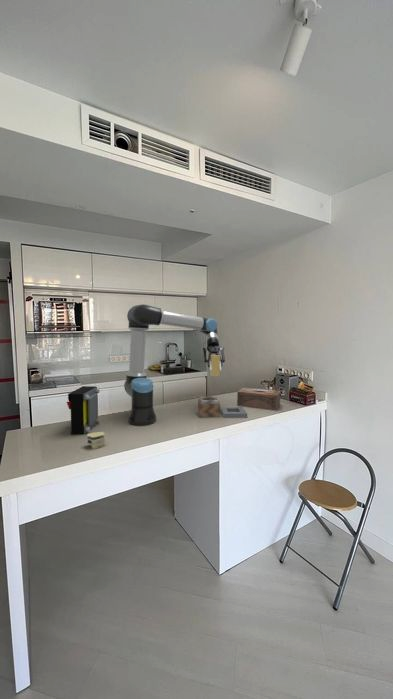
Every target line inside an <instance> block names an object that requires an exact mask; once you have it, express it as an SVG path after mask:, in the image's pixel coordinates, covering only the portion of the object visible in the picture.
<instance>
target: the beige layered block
mask: <svg viewBox="0 0 393 699" xmlns="http://www.w3.org/2000/svg"><path fill="white" fill-rule="evenodd" d="M105 435H106V433H105V432H104V431H97V432H90V433H89V432H88V433H86V436H87V437H86V439H87V442H86V444H87V445H90V446H91V449H92V450H95V449H98V448H102V447H105V446H106V443H107V442H106V440H105V439H106V436H105Z"/></svg>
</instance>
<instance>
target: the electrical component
mask: <svg viewBox="0 0 393 699" xmlns="http://www.w3.org/2000/svg"><path fill="white" fill-rule="evenodd" d="M100 391H101V390H100V388H98V386H95V385H94V386H91V385H90V386H81V387H79V388H77V389H75V390H73V391H71V392H70V393H68V394H67V400H68V401H66V405H67V407H68V410H70V431H71V432H70V435H75V436H76V435H78V436H79V435H80V436H81V435H83V436H84V435H87V434H88V433H89V432H91V430H92V428H94V427H95V426H96V424H98V423H99V424H100V422H101V418H100V417H99V410H98V407H99V406H98V405H99V404H98V403H99V402H98V394H99V393H100ZM98 417H99V418H98Z"/></svg>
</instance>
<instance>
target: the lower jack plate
mask: <svg viewBox="0 0 393 699" xmlns="http://www.w3.org/2000/svg"><path fill="white" fill-rule="evenodd" d="M220 413H221V414H220V415H221V416H222V418H224V419H231V418H232V419H235V418H236V419H239V418H240V419H244V418H246V419H247V418H248V412H247V411H246V410H245V409H244V408H243V406H220Z"/></svg>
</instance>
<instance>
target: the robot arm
mask: <svg viewBox="0 0 393 699" xmlns="http://www.w3.org/2000/svg"><path fill="white" fill-rule="evenodd" d="M126 317H127V321H128V330H130V346H129V349H130V350H129V365H128V366H129V370H128V372H127V373H126V377H125V381H124V384H123V386H124V388H123V389H124V390H125V392H126V393H125V394H127V395H128V396H130V397H131V410H130V412H129V415H128V423H129V424H130V425H131V426H138V427H139V426H142V427H143V426H149V425H152V424H154V423H156V422H157V415H156V413H155V412H156V411H155V409H154V382H153V380H152V379H150V378H149V377H148V378H147V373H145V362H146V361H145V359H146V358H145V357H146V340H147V339H146V337H147V335H146V334H147V331H148V330H149V328H150V327H149V326H160V325H163V326H165V325H166V326H172V327H177V328H178V327H179V328H185V329H192V330H195V331H198V332H199V333H202V334H205V336H206V337H205V339H206V347H203V348H202V352H203V362H204V363H207V364H206V365H207V368H209V373H210V372H211V371H212V367H211V361H210V355H219V356H220V373H222V368H223V363H225V362H226V357H225V347H221V346H220V342H219V333H218V322H217V320H216V319H215V318H206V317H201V316H196V315H195V316H194V315H189V314H183V313H178V312H173V311H172V312H171V311H166V310H163V309H162V308H160V307H157V306H152V305H148V304H137V305H134V306H132V307H130V309H129V310H128V311H127V314H126ZM207 351H208V356H207ZM220 353H221V354H220Z"/></svg>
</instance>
